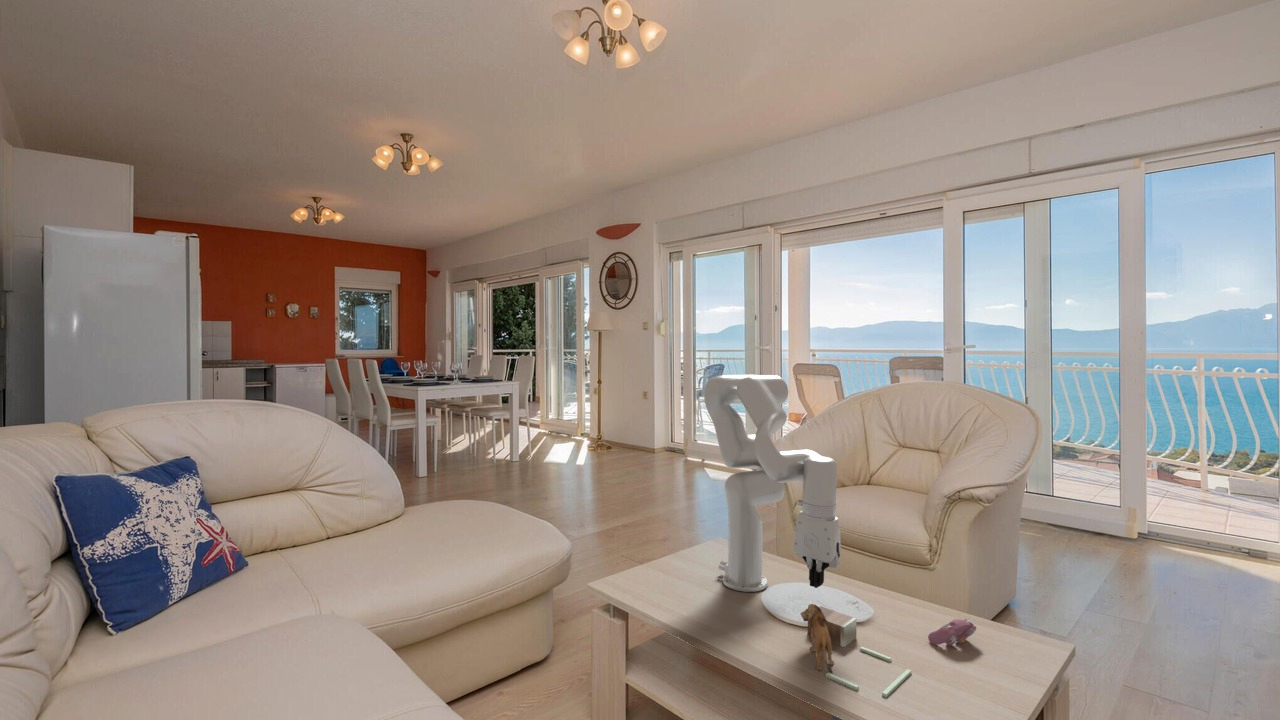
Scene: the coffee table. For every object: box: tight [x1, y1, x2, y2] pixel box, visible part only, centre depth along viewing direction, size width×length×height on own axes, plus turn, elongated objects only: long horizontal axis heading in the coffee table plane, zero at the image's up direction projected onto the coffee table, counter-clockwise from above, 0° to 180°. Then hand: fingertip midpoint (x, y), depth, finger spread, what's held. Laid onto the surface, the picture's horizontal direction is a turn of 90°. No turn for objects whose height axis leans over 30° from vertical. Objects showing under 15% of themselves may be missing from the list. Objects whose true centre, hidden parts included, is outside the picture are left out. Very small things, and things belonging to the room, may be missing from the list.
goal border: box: [825, 646, 912, 698], centre depth 118 cm, size 11×16×1 cm
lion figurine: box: [800, 603, 835, 674], centre depth 125 cm, size 15×5×9 cm, turn 1°
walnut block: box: [807, 605, 858, 648], centre depth 134 cm, size 4×6×9 cm
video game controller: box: [927, 618, 977, 647], centre depth 130 cm, size 10×5×7 cm, turn 114°
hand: (816, 585), depth 137 cm, fingers closed
